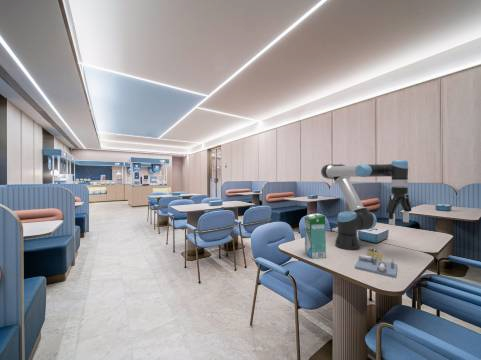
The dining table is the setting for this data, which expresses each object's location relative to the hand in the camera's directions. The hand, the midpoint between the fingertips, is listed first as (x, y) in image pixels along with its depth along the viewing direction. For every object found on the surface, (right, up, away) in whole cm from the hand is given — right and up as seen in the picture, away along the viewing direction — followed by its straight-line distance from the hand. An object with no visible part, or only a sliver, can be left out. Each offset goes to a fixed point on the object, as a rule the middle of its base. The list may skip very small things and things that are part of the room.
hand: (399, 223), depth 119 cm
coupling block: (-15, -20, -1) cm, 25 cm away
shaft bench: (-21, -21, -12) cm, 32 cm away
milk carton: (-47, -21, +6) cm, 52 cm away
